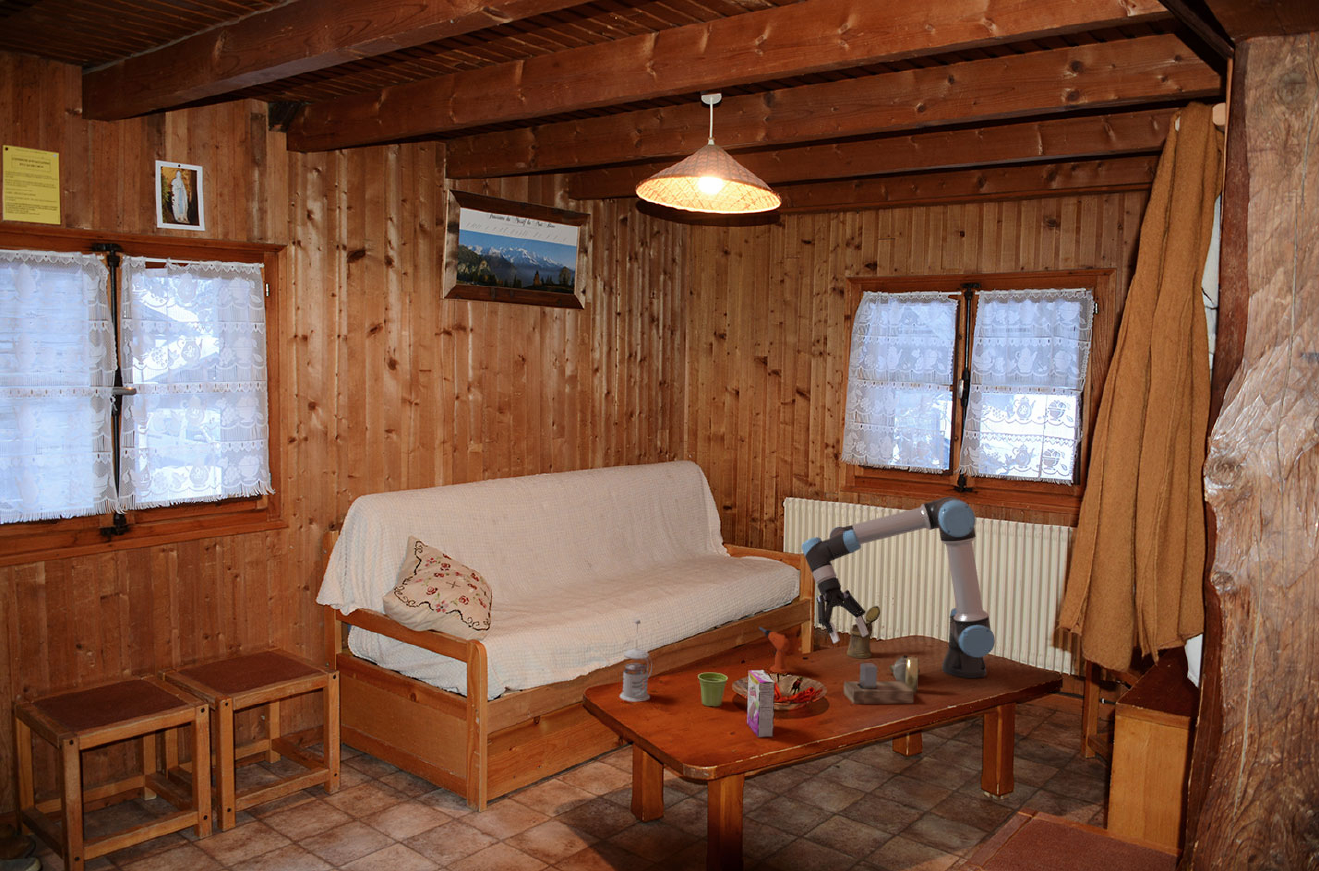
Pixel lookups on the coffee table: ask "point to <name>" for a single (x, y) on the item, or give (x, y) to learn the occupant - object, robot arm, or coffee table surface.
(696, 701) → the coffee table surface
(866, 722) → the coffee table surface
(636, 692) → the french press
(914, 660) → the brass cylinder
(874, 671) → the square bit
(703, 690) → the plant pot
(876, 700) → the socket block
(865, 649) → the tan piece
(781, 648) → the toy drill
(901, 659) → the ceramic sculpture
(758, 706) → the candy bar box
